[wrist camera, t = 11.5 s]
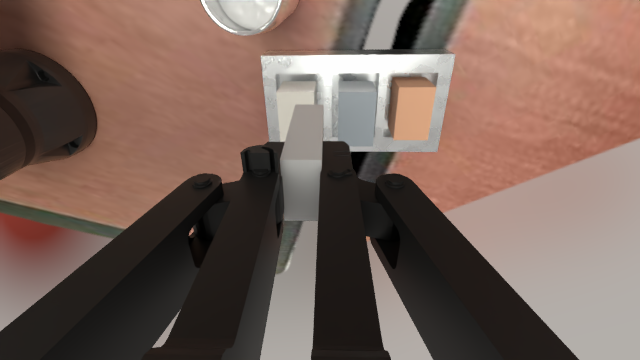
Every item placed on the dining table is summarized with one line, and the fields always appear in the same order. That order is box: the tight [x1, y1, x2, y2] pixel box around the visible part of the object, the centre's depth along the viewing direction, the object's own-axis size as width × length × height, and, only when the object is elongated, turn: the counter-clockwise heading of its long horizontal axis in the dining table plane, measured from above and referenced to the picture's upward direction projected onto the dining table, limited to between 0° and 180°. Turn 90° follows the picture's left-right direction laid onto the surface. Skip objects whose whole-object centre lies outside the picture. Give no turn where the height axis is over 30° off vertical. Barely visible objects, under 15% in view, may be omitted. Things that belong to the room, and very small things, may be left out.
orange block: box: [388, 77, 436, 140], centre depth 38 cm, size 4×6×5 cm, turn 1°
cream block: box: [276, 81, 317, 142], centre depth 37 cm, size 4×6×5 cm, turn 1°
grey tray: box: [261, 49, 455, 152], centre depth 41 cm, size 22×12×4 cm, turn 91°
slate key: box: [338, 81, 377, 147], centre depth 37 cm, size 4×6×5 cm, turn 1°
